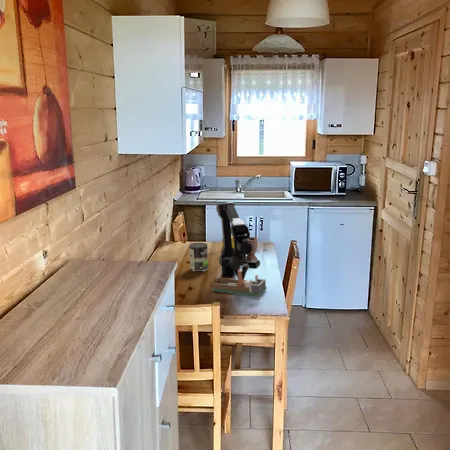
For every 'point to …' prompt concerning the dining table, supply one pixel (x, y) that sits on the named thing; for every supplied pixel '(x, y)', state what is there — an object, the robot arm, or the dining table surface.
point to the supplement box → (232, 242)
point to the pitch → (253, 289)
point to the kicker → (239, 279)
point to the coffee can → (198, 256)
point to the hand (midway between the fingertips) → (241, 279)
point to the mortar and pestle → (254, 248)
